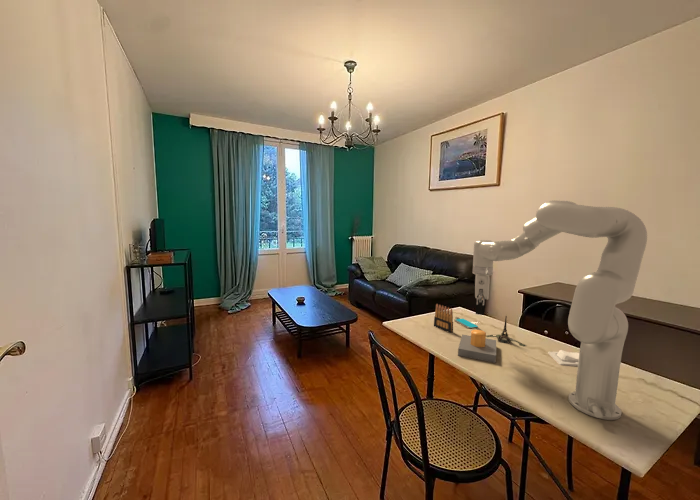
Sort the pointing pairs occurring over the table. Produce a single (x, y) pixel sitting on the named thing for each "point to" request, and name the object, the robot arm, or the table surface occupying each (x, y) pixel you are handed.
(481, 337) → the orange wooden cylinder
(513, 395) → the table surface
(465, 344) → the box
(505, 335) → the eiffel tower figurine
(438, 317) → the ammunition clip
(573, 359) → the light switch
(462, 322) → the cyan flat board
